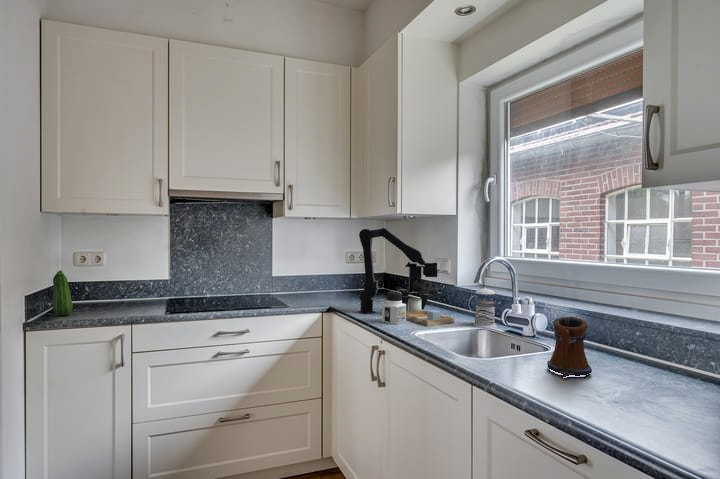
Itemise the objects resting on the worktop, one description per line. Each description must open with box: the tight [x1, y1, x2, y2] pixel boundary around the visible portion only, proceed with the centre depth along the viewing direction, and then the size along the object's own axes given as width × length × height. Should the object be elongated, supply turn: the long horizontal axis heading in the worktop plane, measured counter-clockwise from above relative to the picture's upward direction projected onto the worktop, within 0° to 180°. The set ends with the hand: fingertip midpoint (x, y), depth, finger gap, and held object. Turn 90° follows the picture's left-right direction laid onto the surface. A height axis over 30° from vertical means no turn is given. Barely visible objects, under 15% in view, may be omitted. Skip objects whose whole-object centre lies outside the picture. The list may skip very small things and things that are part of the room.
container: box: [381, 290, 407, 325], centre depth 191 cm, size 8×8×13 cm
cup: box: [407, 298, 422, 312], centre depth 208 cm, size 6×6×7 cm
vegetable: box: [52, 270, 74, 317], centre depth 195 cm, size 7×7×20 cm
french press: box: [468, 266, 498, 329], centre depth 187 cm, size 10×12×25 cm
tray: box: [406, 309, 455, 327], centre depth 195 cm, size 20×14×2 cm
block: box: [426, 309, 442, 320], centre depth 191 cm, size 4×4×4 cm
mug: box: [546, 316, 593, 377], centre depth 123 cm, size 18×12×15 cm, turn 146°
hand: (414, 310), depth 208 cm, fingers open, 9 cm apart
